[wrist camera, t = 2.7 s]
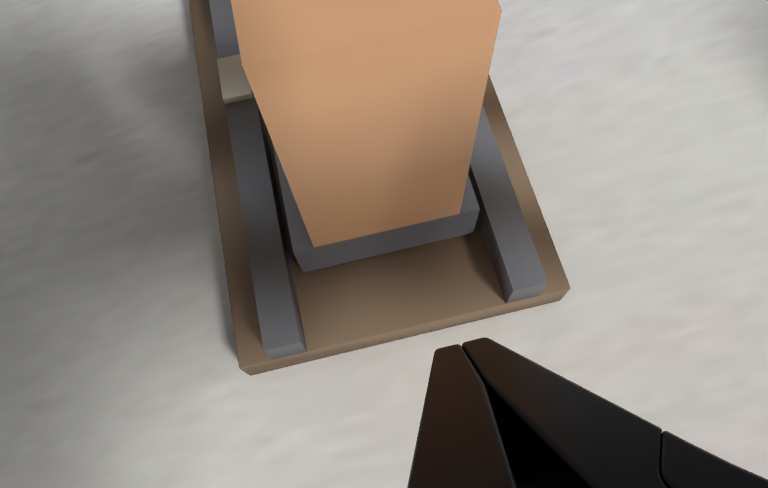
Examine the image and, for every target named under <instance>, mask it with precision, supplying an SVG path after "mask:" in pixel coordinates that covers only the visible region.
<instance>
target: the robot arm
mask: <svg viewBox="0 0 768 488" xmlns="http://www.w3.org/2000/svg"><path fill="white" fill-rule="evenodd" d="M407 488H768V480H767V479H765V478H763V477H761V476H758V475H756V474H754V473H752V472H749V471H747V470H745V469H743V468H740V467H738V466H736V465H734V464H731V463H729V462H727V461H725V460H723V459H721V458H719V457H717V456H715V455H713V454H711V453H709V452H707V451H705V450H703V449H701V448H699V447H697V446H695V445H693V444H691V443H689V442H687V441H685V440H683V439H681V438H679V437H677V436H675V435H673V434H672V433H670V432H668V431H664V432H663V433H662V429H661V428H660V427H658V426H656V425H654V424H652V423H650V422H648V421H646V420H644V419H642V418H640V417H638V416H637V415H635V414H633V413H631V412H629V411H627V410H625V409H623V408H621V407H619V406H617V405H615V404H614V403H612V402H610V401H608V400H606V399H604V398H602V397H600V396H598V395H596V394H594V393H592V392H590V391H589V390H587V389H585V388H583V387H581V386H579V385H577V384H575V383H573V382H571V381H569V380H567V379H566V378H564V377H562V376H560V375H558V374H556V373H554V372H552V371H550V370H548V369H546V368H544V367H543V366H541V365H539V364H537V363H535V362H533V361H531V360H529V359H527V358H525V357H523V356H521V355H519V354H518V353H516V352H514V351H512V350H510V349H508V348H506V347H504V346H502V345H500V344H498V343H496V342H495V341H493V340H491V339H489V338H480V339H476V340H472V341H468V342H465V343H463V344H462V347H461V346H460V345H458V344H456V345H452V346H447V347H443V348H439V349H437V350H436V351H435V353H434V357H433V362H432V367H431V372H430V377H429V382H428V387H427V392H426V397H425V402H424V407H423V412H422V417H421V422H420V427H419V432H418V437H417V442H416V447H415V452H414V457H413V462H412V467H411V472H410V477H409V482H408V486H407Z"/></svg>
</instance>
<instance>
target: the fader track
mask: <svg viewBox="0 0 768 488" xmlns="http://www.w3.org/2000/svg"><path fill="white" fill-rule="evenodd" d="M189 6H190V13H191V20H192V27H193V35H194V42H195V49H196V56H197V64H198V71H199V78H200V86H201V93H202V100H203V107H204V115H205V122H206V129H207V136H208V144H209V151H210V158H211V165H212V173H213V180H214V187H215V194H216V202H217V209H218V216H219V223H220V231H221V238H222V245H223V252H224V260H225V267H226V274H227V282H228V289H229V296H230V303H231V311H232V318H233V325H234V332H235V340H236V347H237V354H238V361H239V368H240V369H241V370H243V371H244V372H246V373H247V374H249V375H254V374H258V373H262V372H267V371H271V370H275V369H279V368H283V367H287V366H291V365H295V364H300V363H304V362H308V361H312V360H316V359H320V358H324V357H328V356H333V355H337V354H341V353H345V352H349V351H353V350H357V349H361V348H366V347H370V346H374V345H378V344H382V343H386V342H390V341H394V340H399V339H403V338H407V337H411V336H415V335H419V334H423V333H427V332H432V331H436V330H440V329H444V328H448V327H452V326H456V325H460V324H465V323H469V322H473V321H477V320H481V319H485V318H489V317H493V316H498V315H502V314H506V313H510V312H514V311H518V310H522V309H526V308H531V307H535V306H539V305H543V304H547V303H551V302H555V301H559V300H561V299H562V297H563V296H564V295H565V294H566V293H567V292H568V291H569V289H570V286H569V283H568V280H567V278H566V275H565V273H564V270H563V267H562V265H561V262H560V259H559V257H558V254H557V252H556V249H555V246H554V244H553V241H552V238H551V236H550V233H549V231H548V228H547V225H546V223H545V220H544V218H543V215H542V212H541V210H540V207H539V204H538V202H537V199H536V197H535V194H534V191H533V189H532V186H531V184H530V181H529V178H528V176H527V173H526V170H525V168H524V165H523V163H522V160H521V157H520V155H519V152H518V150H517V147H516V144H515V142H514V139H513V136H512V134H511V131H510V129H509V126H508V123H507V121H506V118H505V116H504V113H503V110H502V108H501V105H500V102H499V100H498V97H497V95H496V92H495V89H494V87H493V84H492V82H491V79H490V76H489V74H488V79H487V84H486V89H485V94H484V99H483V103H482V108H481V113H480V118H479V123H478V128H477V133H476V137H475V142H474V147H473V152H472V157H471V162H470V167H469V171H468V175H469V178H470V181H471V184H472V187H473V190H474V193H475V196H476V199H477V202H478V205H479V208H480V211H479V214H478V218H477V221H476V225H475V229H474V232H473V233H471V234H466V235H462V236H458V237H453V238H449V239H445V240H441V241H436V242H432V243H428V244H423V245H419V246H415V247H411V248H406V249H402V250H398V251H393V252H389V253H385V254H381V255H376V256H372V257H368V258H363V259H359V260H355V261H351V262H346V263H342V264H338V265H333V266H329V267H325V268H321V269H316V270H312V271H308V272H303V271H302V269H301V267H300V265H299V263H298V261H297V259H296V257H295V255H294V253H293V249H292V244H291V239H290V233H289V228H288V223H287V217H286V212H285V207H284V202H283V196H282V191H281V186H280V180H279V175H278V170H277V164H276V159H275V154H274V149H273V143H272V140H271V137H270V135H269V132H268V130H267V127H266V125H265V122H264V119H263V117H262V114H261V112H260V109H259V107H258V104H257V102H256V99H255V97H254V94H253V91H252V89H251V86H250V84H249V81H248V79H247V76H246V74H245V71H244V69H243V66H242V62H241V56H240V50H239V45H238V39H237V33H236V28H235V22H234V16H233V10H232V5H231V0H189Z"/></svg>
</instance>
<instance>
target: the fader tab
mask: <svg viewBox="0 0 768 488" xmlns="http://www.w3.org/2000/svg"><path fill="white" fill-rule="evenodd" d="M231 5H232V10H233V16H234V22H235V28H236V33H237V39H238V45H239V50H240V56H241V62H242V66H243V69H244V71H245V74H246V76H247V79H248V81H249V84H250V86H251V89H252V91H253V94H254V97H255V99H256V102H257V104H258V107H259V109H260V112H261V114H262V117H263V119H264V122H265V125H266V127H267V130H268V132H269V135H270V137H271V140H272V143H273V149H274V154H275V159H276V164H277V170H278V175H279V180H280V186H281V191H282V196H283V202H284V207H285V212H286V217H287V223H288V228H289V233H290V239H291V244H292V249H293V253H294V255H295V257H296V259H297V261H298V263H299V265H300V267H301V269H302V271H303V272H308V271H312V270H316V269H321V268H325V267H329V266H333V265H338V264H342V263H346V262H351V261H355V260H359V259H363V258H368V257H372V256H376V255H381V254H385V253H389V252H393V251H398V250H402V249H406V248H411V247H415V246H419V245H423V244H428V243H432V242H436V241H441V240H445V239H449V238H453V237H458V236H462V235H466V234H471V233H473V232H474V229H475V225H476V221H477V218H478V214H479V211H480V208H479V205H478V202H477V199H476V196H475V193H474V190H473V187H472V184H471V181H470V178H469V175H468V171H469V167H470V162H471V157H472V152H473V147H474V142H475V137H476V133H477V128H478V123H479V118H480V113H481V108H482V103H483V99H484V94H485V89H486V84H487V79H488V74H489V69H490V64H491V60H492V55H493V50H494V45H495V40H496V35H497V30H498V26H499V21H500V16H501V11H502V10H501V7H500V5H499V3H498V0H231Z"/></svg>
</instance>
